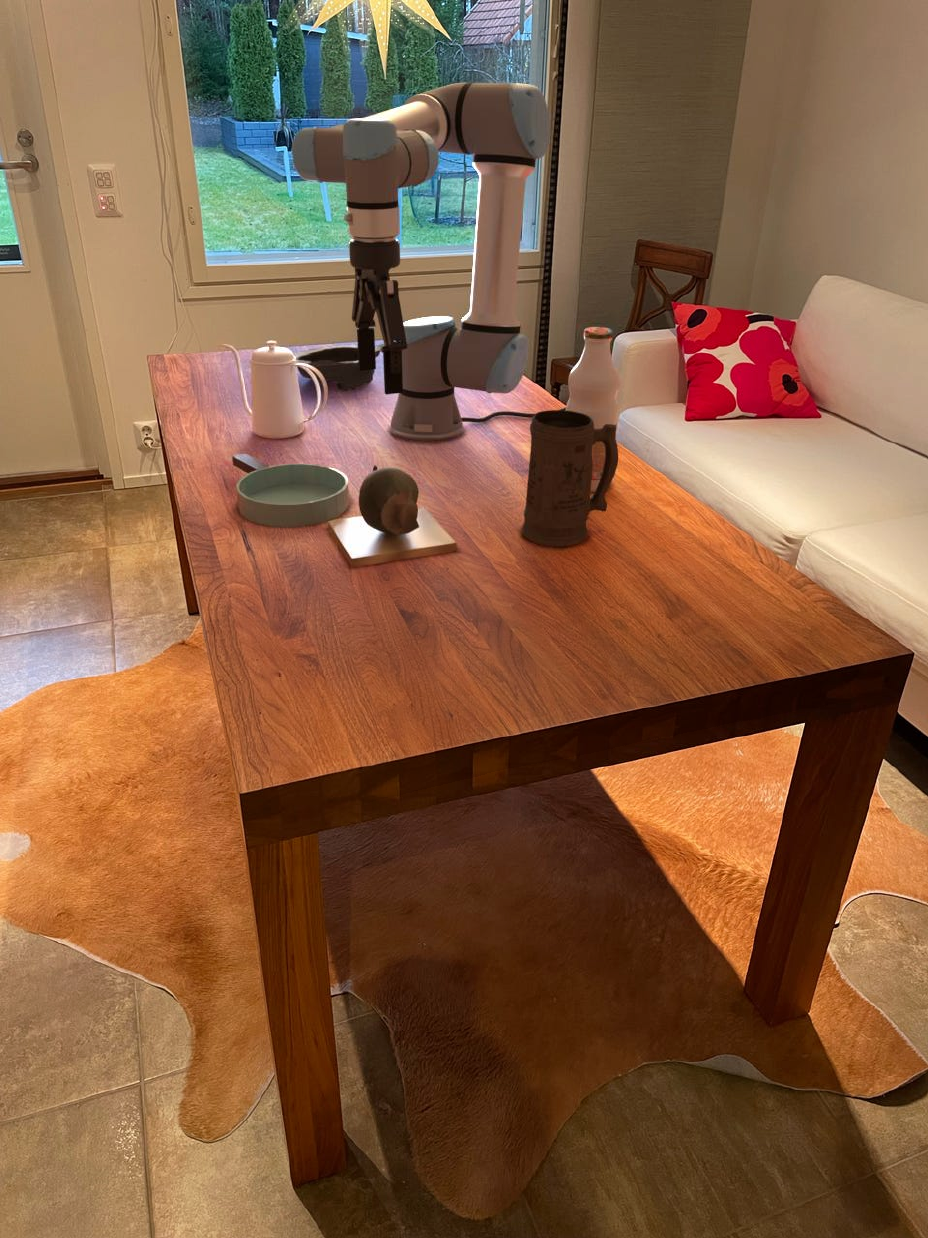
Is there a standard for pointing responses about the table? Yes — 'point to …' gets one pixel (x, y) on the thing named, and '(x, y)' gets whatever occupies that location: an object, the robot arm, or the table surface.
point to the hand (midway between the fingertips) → (380, 380)
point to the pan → (292, 495)
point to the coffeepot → (276, 391)
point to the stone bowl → (337, 365)
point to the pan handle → (247, 463)
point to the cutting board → (389, 540)
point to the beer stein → (565, 476)
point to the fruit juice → (595, 390)
